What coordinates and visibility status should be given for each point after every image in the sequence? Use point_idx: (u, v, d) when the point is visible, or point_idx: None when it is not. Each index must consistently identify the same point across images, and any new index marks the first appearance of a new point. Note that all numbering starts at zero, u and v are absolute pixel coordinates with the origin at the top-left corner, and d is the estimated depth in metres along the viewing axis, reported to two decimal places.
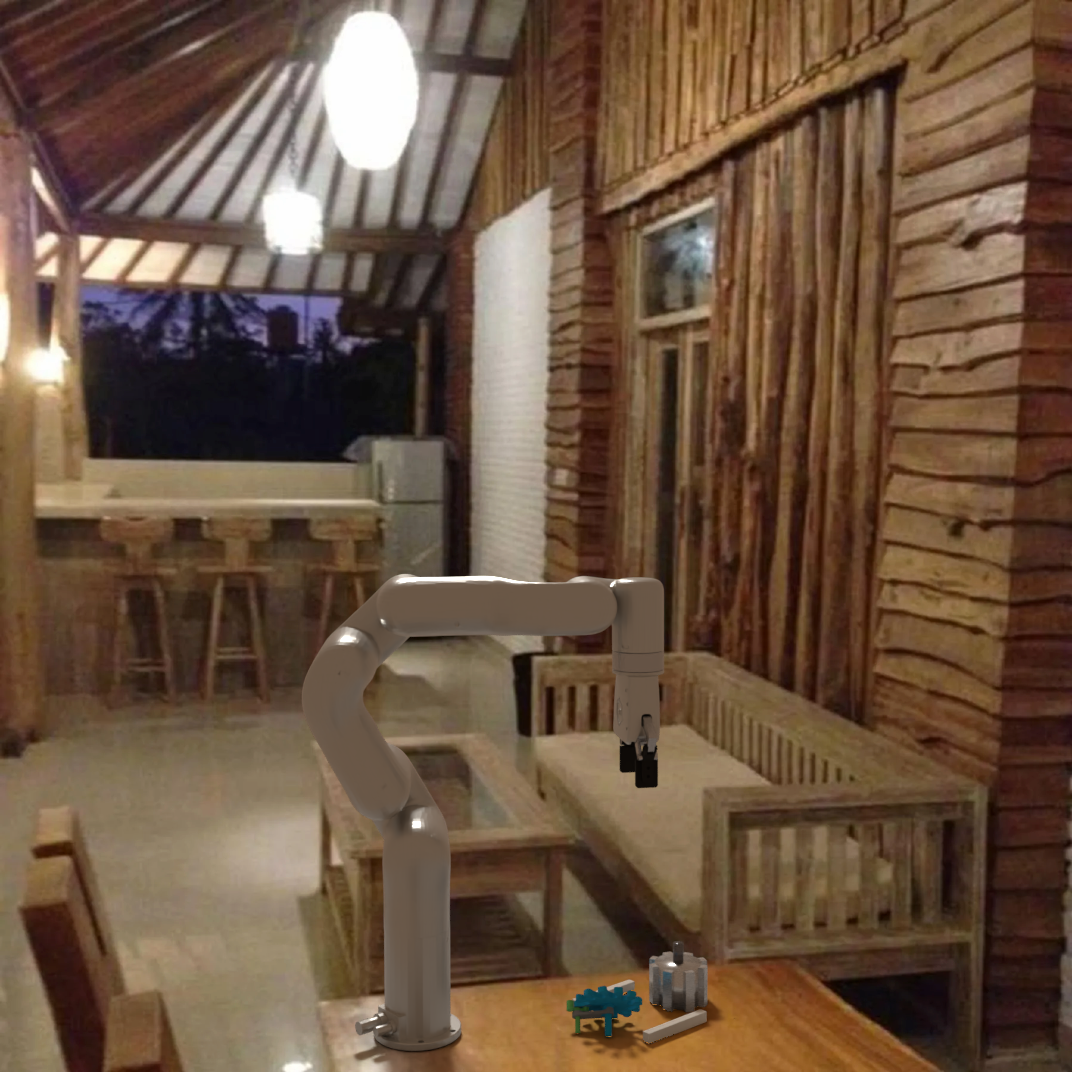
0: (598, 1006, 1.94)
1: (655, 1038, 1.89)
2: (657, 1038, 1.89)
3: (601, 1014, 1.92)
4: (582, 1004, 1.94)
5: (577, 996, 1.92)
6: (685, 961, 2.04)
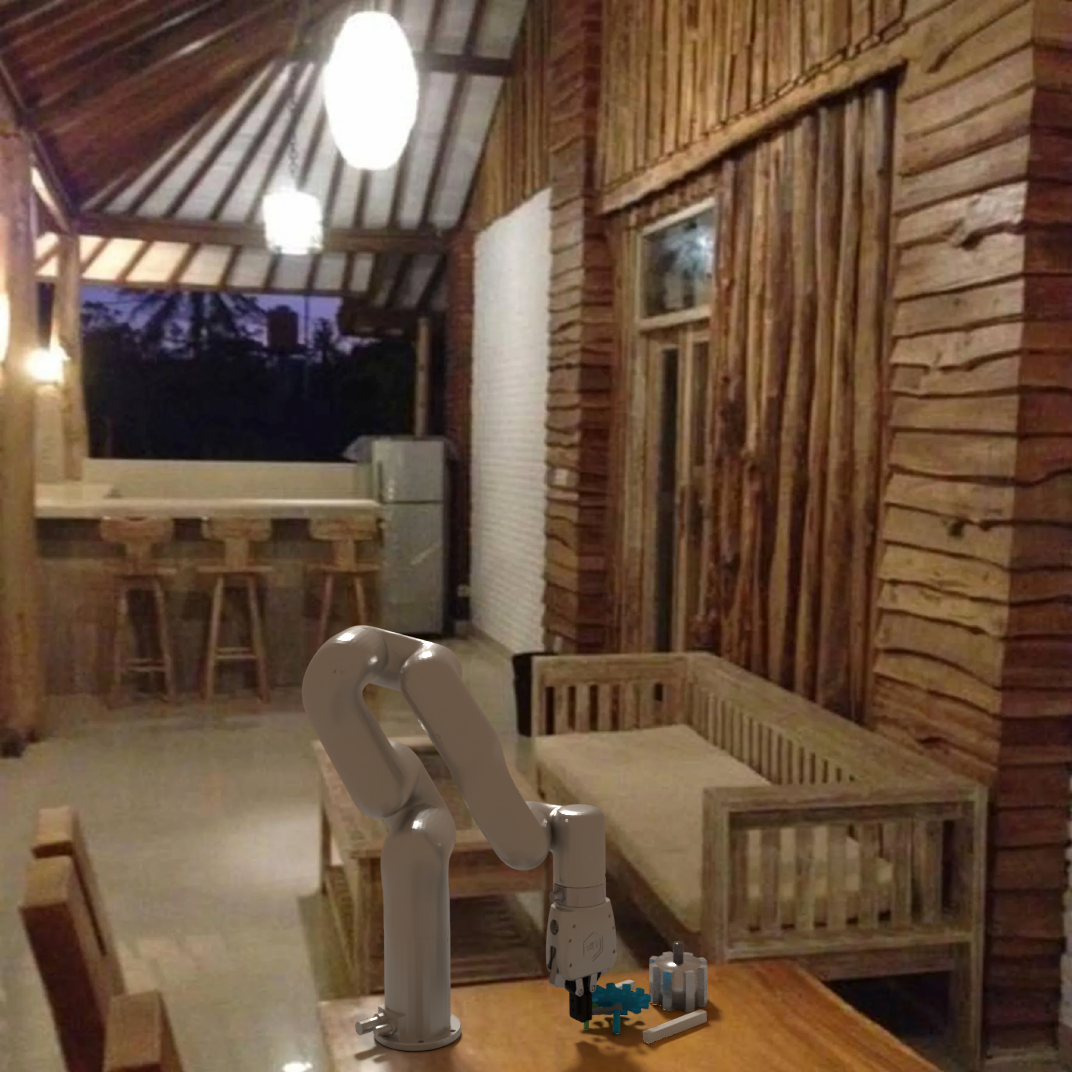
0: (607, 1002, 1.95)
1: (655, 1038, 1.89)
2: (657, 1038, 1.89)
3: (610, 1011, 1.93)
4: None
5: None
6: (685, 961, 2.04)
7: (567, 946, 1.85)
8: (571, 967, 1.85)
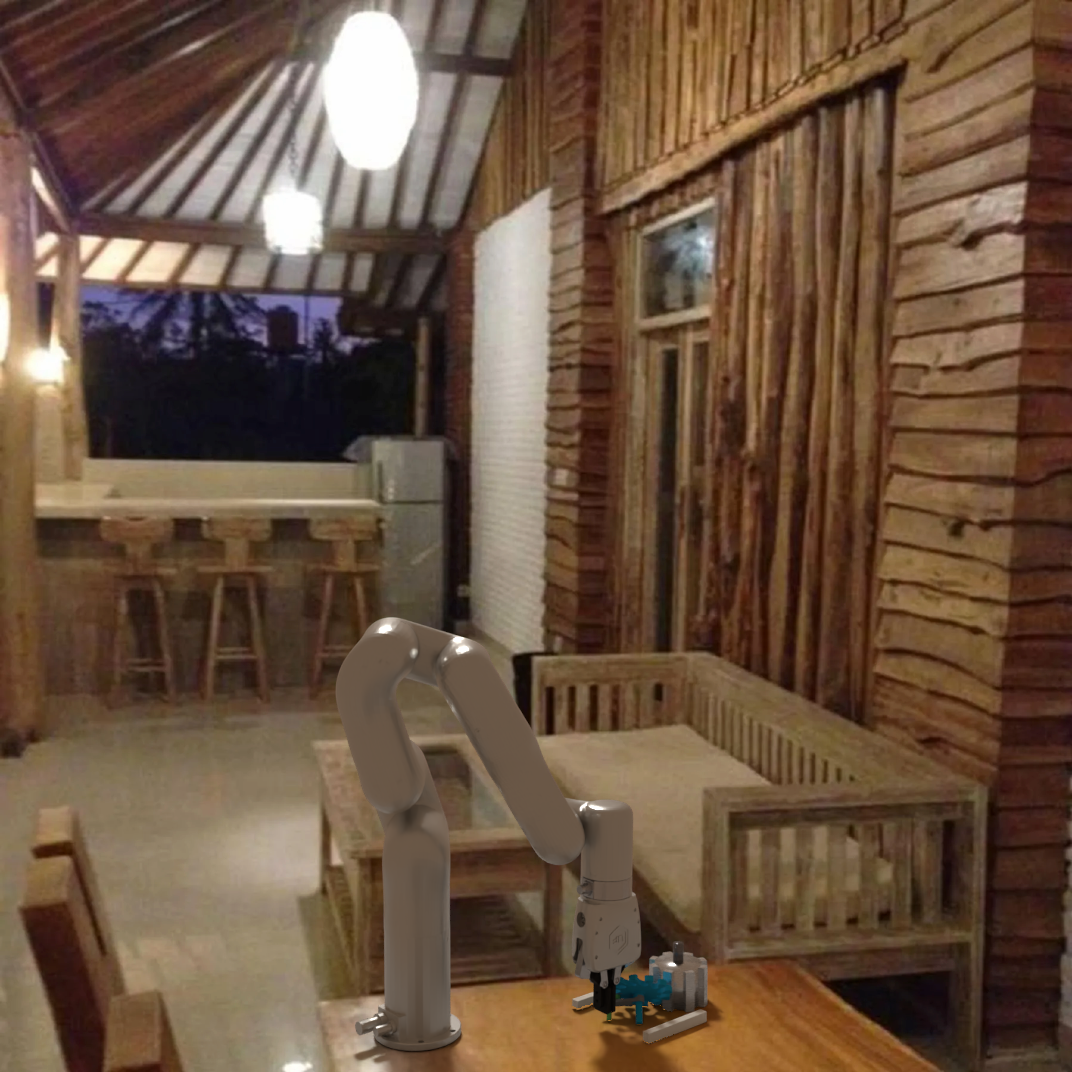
0: (629, 994, 1.98)
1: (655, 1038, 1.89)
2: (657, 1038, 1.89)
3: (632, 1002, 1.97)
4: None
5: None
6: (685, 961, 2.04)
7: (593, 938, 1.88)
8: (597, 959, 1.89)
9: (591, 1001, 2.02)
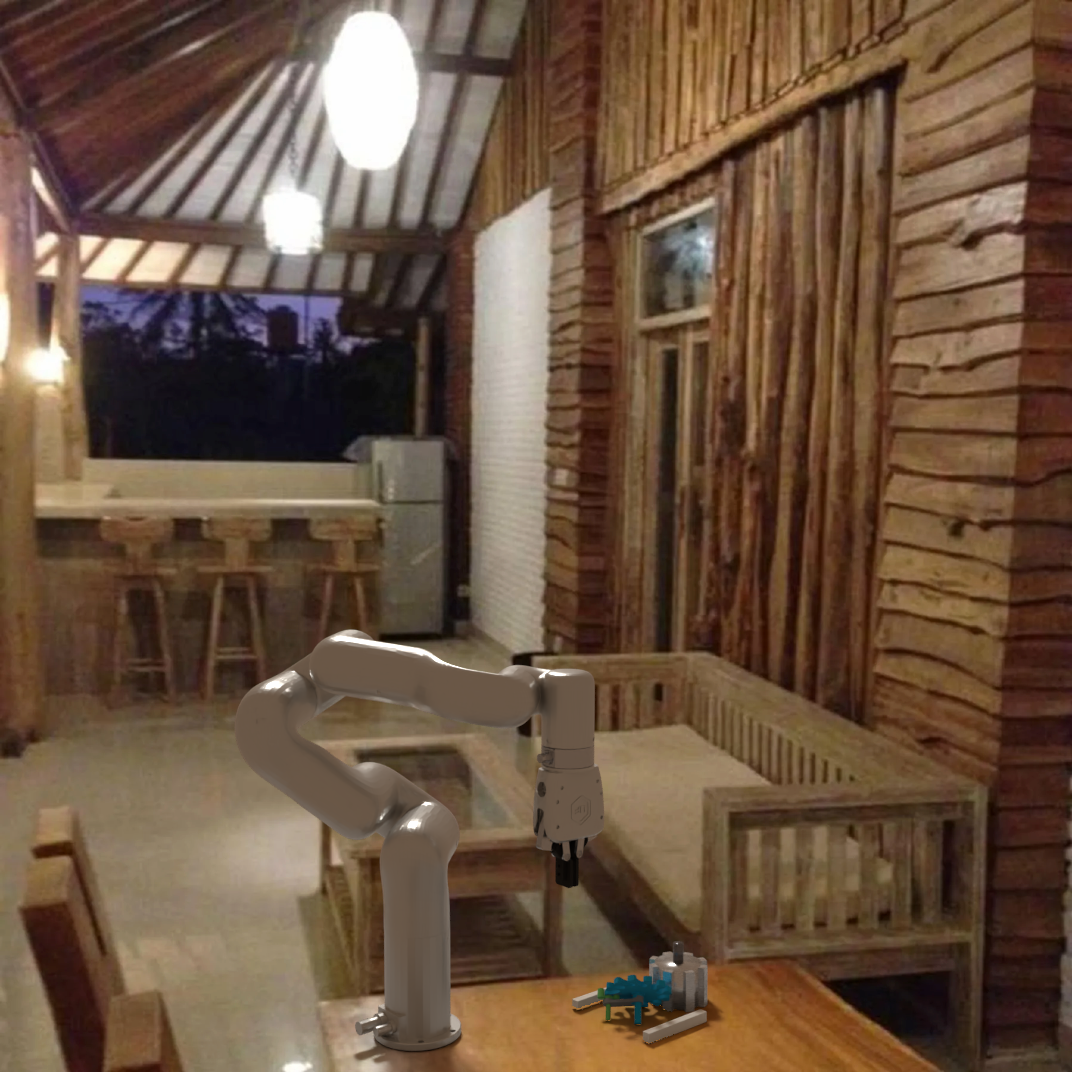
0: (628, 994, 1.98)
1: (655, 1038, 1.89)
2: (657, 1038, 1.89)
3: (631, 1002, 1.97)
4: (613, 992, 1.98)
5: (608, 984, 1.97)
6: (685, 961, 2.04)
7: (554, 807, 1.83)
8: (558, 829, 1.83)
9: (591, 1001, 2.02)
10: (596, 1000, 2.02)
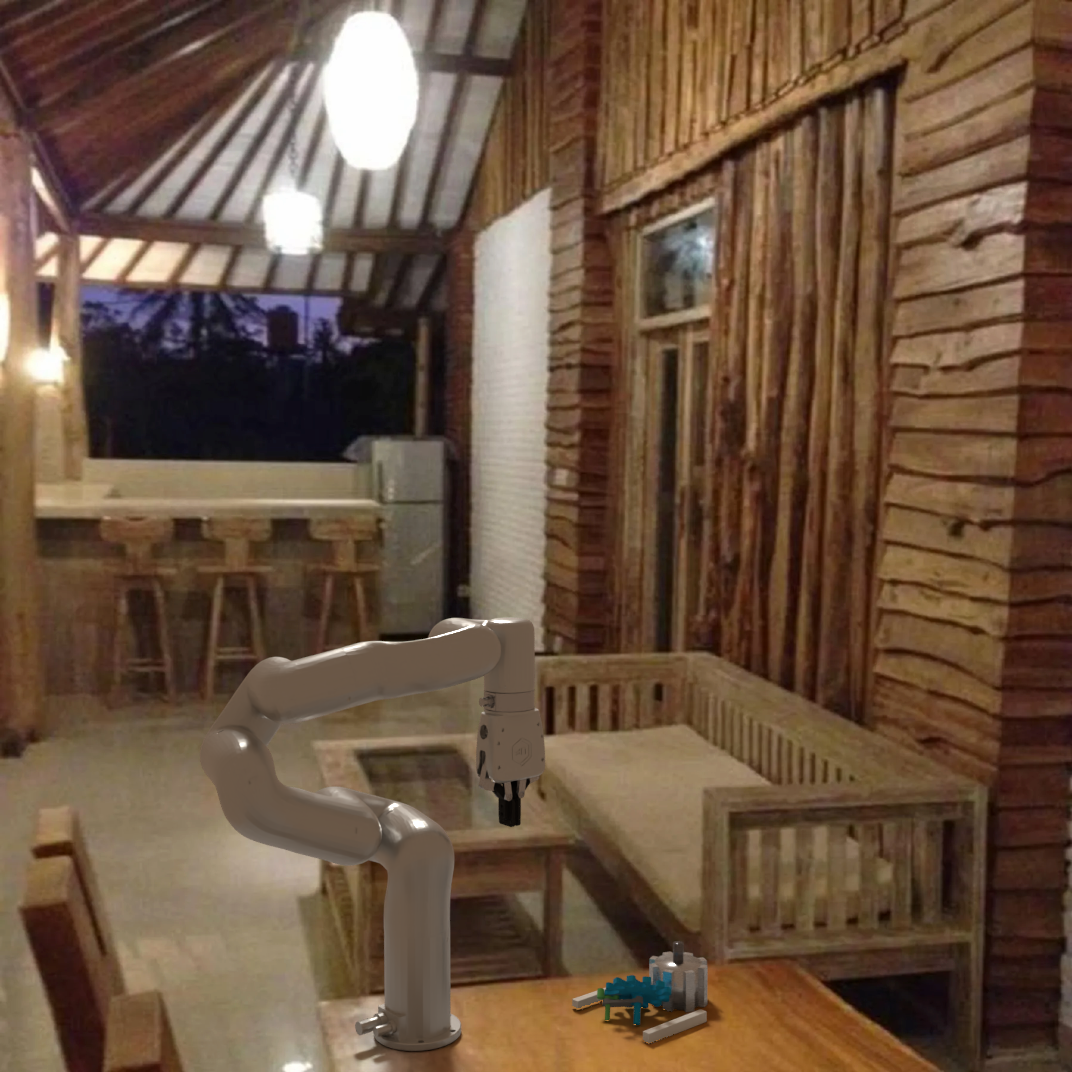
0: (628, 995, 1.98)
1: (655, 1038, 1.89)
2: (657, 1038, 1.89)
3: (631, 1003, 1.96)
4: (612, 992, 1.98)
5: (607, 985, 1.97)
6: (685, 961, 2.04)
7: (496, 749, 1.91)
8: (499, 769, 1.91)
9: (591, 1001, 2.02)
10: (596, 1000, 2.02)
